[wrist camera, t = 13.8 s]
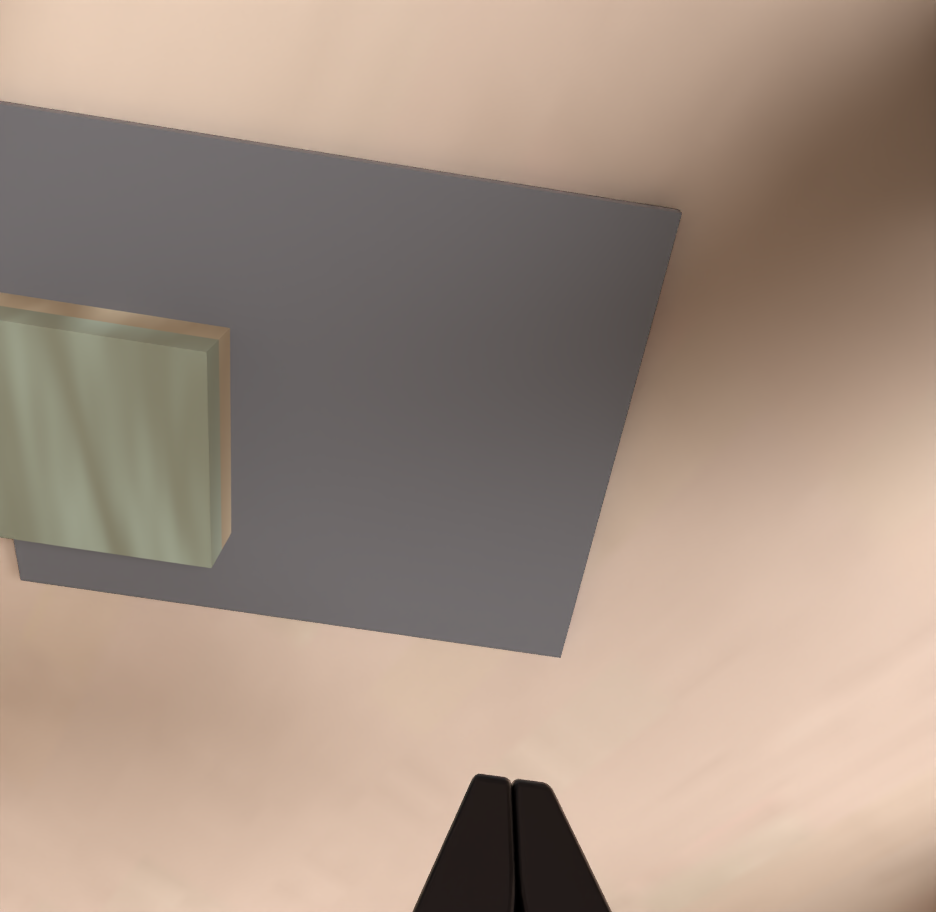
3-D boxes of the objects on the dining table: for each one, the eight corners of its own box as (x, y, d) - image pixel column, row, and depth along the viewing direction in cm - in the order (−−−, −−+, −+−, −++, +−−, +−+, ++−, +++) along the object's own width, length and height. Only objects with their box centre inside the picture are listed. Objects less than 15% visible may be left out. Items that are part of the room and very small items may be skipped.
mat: (678, 209, 17) (681, 213, 16) (559, 648, 23) (560, 657, 23) (-54, 92, 16) (-67, 93, 16) (28, 571, 23) (20, 580, 22)
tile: (206, 352, 17) (-68, 310, 17) (211, 568, 20) (-23, 534, 20) (229, 328, 18) (-23, 288, 18) (231, 533, 21) (13, 500, 21)
